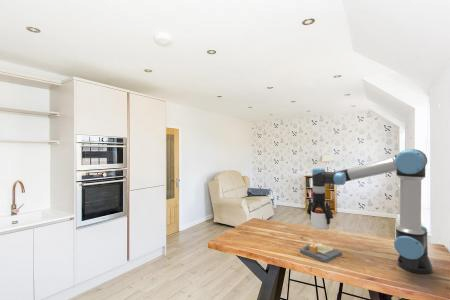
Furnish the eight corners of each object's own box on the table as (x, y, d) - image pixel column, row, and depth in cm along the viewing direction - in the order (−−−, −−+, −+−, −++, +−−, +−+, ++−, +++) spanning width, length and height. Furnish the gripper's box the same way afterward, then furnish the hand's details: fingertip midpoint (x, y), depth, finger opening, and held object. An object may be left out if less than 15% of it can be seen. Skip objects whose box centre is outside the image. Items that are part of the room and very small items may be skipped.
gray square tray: (341, 255, 151) (341, 247, 151) (325, 263, 141) (325, 254, 141) (316, 246, 165) (316, 238, 165) (299, 252, 156) (299, 244, 156)
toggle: (317, 253, 150) (317, 246, 150) (314, 254, 148) (314, 247, 148) (312, 251, 153) (312, 244, 153) (309, 252, 151) (309, 245, 151)
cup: (329, 230, 150) (329, 214, 150) (312, 229, 152) (312, 213, 152) (326, 225, 160) (325, 210, 160) (310, 224, 162) (310, 209, 162)
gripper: (338, 194, 149) (339, 230, 149) (307, 189, 168) (308, 221, 168) (331, 195, 145) (332, 233, 145) (300, 190, 163) (301, 223, 163)
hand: (319, 227), depth 156 cm, fingers closed on cup, 10 cm apart
